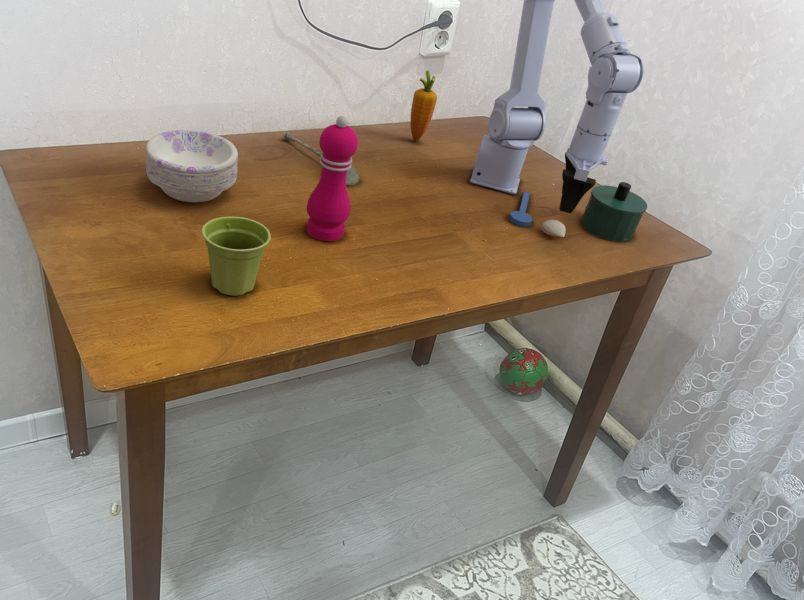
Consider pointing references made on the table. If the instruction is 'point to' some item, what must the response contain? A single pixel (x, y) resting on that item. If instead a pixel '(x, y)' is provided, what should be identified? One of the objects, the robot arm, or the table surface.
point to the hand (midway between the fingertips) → (566, 202)
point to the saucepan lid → (619, 198)
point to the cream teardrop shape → (554, 228)
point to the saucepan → (609, 222)
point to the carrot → (422, 107)
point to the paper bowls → (191, 164)
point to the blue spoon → (521, 213)
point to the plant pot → (234, 252)
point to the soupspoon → (352, 173)
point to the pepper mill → (332, 183)
